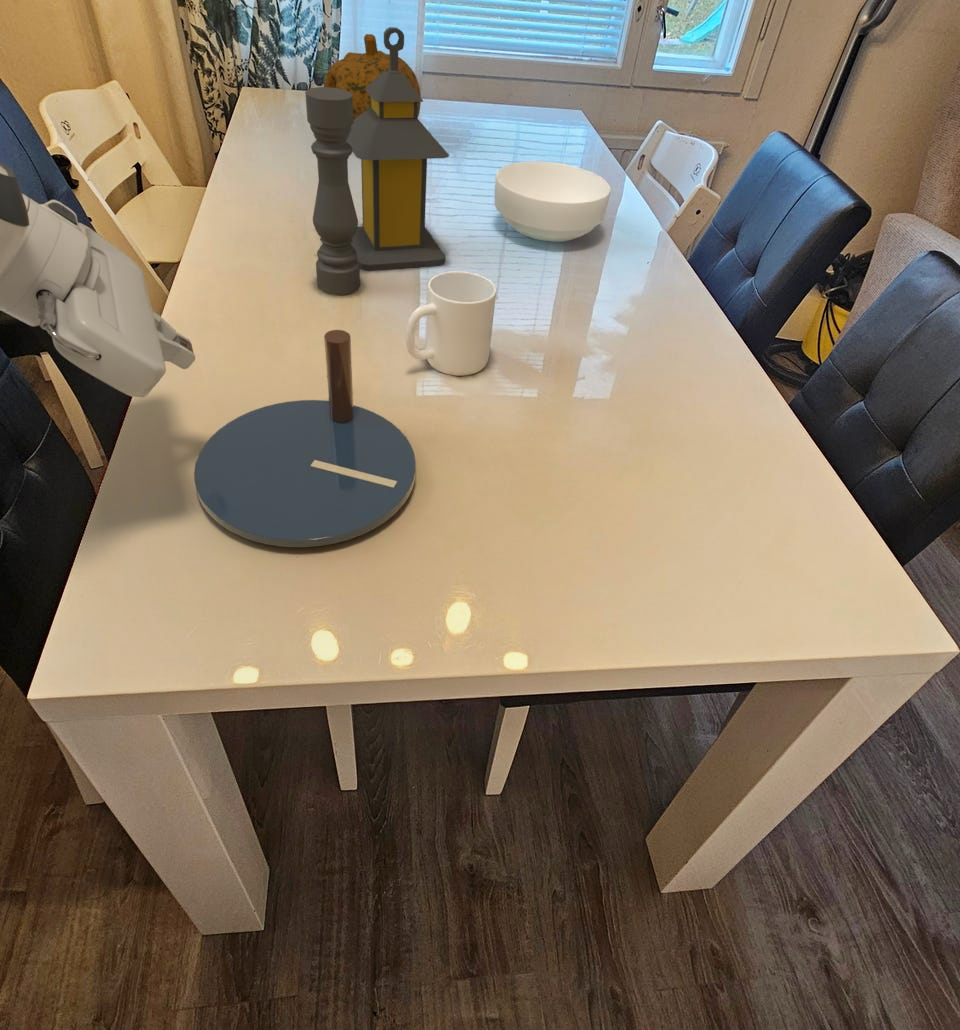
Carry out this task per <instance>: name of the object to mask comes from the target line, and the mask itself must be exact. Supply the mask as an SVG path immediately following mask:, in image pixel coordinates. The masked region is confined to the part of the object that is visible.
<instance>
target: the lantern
mask: <svg viewBox="0 0 960 1030" xmlns="http://www.w3.org/2000/svg"><path fill="white" fill-rule="evenodd" d="M393 34H397V37H398V39H397V42H396V43H395V44H391V40H390V38H391V35H393ZM383 45H384V48H385V49H386V50H389V54H390V69H386V70H384V71H383V72H382V73H381V74H380V75H379V76H378V77H377V78H376V79H375V80H374V81H373V82H371V83H370V84H369V85H368V86H367V87H366V88H365V90H366V91H367V92H368V93H369V95H370V96H371V107H370V108H368V109H367V110H366V111H365V112H363V113H362V114H361V115H360V116H358V117H357V118H356V119H355V120H353V124H352V126H351V132H350V133H349V136H348V139H347V143H349V144H350V145H351V147H352V154H354V156H355V157H356V158H357V159H359V160H360V162H361V163H360V165H361V166H360V167H361V203H362V205H361V206H362V207H361V208H362V209H361V210H362V226H358V227H357V230H356V232H355V234H354V236H353V237H352V240H353V241H352V242H351V245H352V246H353V248H354V249H355V250H356V252H357V255H358V256H357V258H356V260H358V262H359V265H360V270H362V271H365V272H366V271H368V272H371V271H385V270H386V271H387V270H397V269H398V270H399V269H412V268H414V269H415V268H425V267H441V266H443V265H445V263H446V254H445V253H444V251H443V250H442V248H441V247H440V246H439V245H438V243H437V242H436V239H434V237H433V236H432V234H431V233H430V231H429V230H428V229H427V228H426V206H427V205H426V202H427V200H426V199H427V175H428V174H427V172H428V160H430V159H448V158H449V156H450V154H449V153H448V152H447V151H446V150H445V148H444V147H443V146H442V145H441V143H439V142H438V140H437V139H436V138H435V137H434V135H433V134H431V132H430V130H428V129H427V128H426V127H425V125H424V124H423V123H422V122H421V121H420V120H419V117H418V118H417V102H421V103H423V102H424V100H423V98H422V97H420V96H419V95H418V93H417V92H416V91H415V89H414V88H413V87H412V85H411V84H410V83H409V81H408V80H407V79H406V77H405V76H404V75H403V73H402V72H401V71H400V70H398V57H399V52H400V51H402V50H403V49H404V47H405V34H404V32H403V31H402V30H401V29H399V28H398V27H393V26H391V27H390V26H389V27H387V28H386V29H385V30H384V32H383Z"/></svg>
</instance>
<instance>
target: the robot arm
mask: <svg viewBox="0 0 960 1030" xmlns="http://www.w3.org/2000/svg"><path fill="white" fill-rule="evenodd" d="M0 311H1V312H3V313H5V314H7V315H9V316H11V317H13V318H15V319H16V320H19V321H20V322H22V323H24V324H26V325H28V326H29V327H38V326H39V327H40V328H41V329H42V330H44V331H46V332H47V333H48V334H49V335H50V337H51V338H52V343H53V346H54V348H55V349H56V351H57V352H58V353H59V354H60V355H61V356H62V357H63V358H64V359H66V360H67V361H69V362H70V363H71V364H73V365H74V366H76V367H77V368H79V369H81V370H82V371H83V372H85V373H87V374H89V375H90V376H93V377H94V378H95V379H97V380H99V381H101V382H102V383H104V384H106V385H108V386H110V387H111V388H113V389H114V390H117V391H118V392H121V393H123V394H124V395H126V396H128V397H131V398H139V399H141V398H145V397H147V396H148V395H149V394H150V393H151V392H152V390H153V389H154V388H156V386H157V385H158V384H159V382H160V381H161V380H162V379H163V377H164V375H165V374H166V371H167V367H166V363H165V362H168V363H170V364H173V365H175V366H177V367H178V368H180V369H182V370H187V369H189V368H190V367H191V366H192V365H193V363H194V362H195V360H196V354H195V352H194V349H193V343H192V341H191V340H190V339H189V338H187V337H185V335H183V334H181V333H180V332H177V331H176V329H175V328H173V327H172V325H170V323H168V322H167V321H166V320H165V319H164V318H163V317H162V316H161V315H160V314H158V313H156V312H155V311H154V310H153V307H152V303H151V300H150V295H149V291H148V287H147V283H146V279H145V274H144V271H143V269H142V268H141V267H140V266H139V265H138V264H137V263H136V261H134V259H132V258H131V256H129V255H127V253H126V252H124V251H122V250H121V249H120V248H118V247H117V246H116V245H114V244H113V243H111V241H109V240H107V239H106V238H105V237H103V236H102V235H100V234H99V233H97V231H95V230H94V229H92V228H90V227H89V226H87V225H85V224H83V223H81V222H78V216H77V214H76V213H75V212H74V211H73V210H72V209H71V208H69V207H68V206H67V205H65V204H63V203H62V202H60V201H59V200H56V199H50V200H48V201H47V202H45V203H39V202H37V201H35V200H34V199H32V198H30V197H28V196H27V195H26V194H24V193H22V190H21V188H20V185H19V181H18V179H17V177H16V174H15V172H14V171H13V169H11V168H10V167H9V166H8V165H6V164H4V163H3V162H0Z"/></svg>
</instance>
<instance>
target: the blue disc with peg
mask: <svg viewBox="0 0 960 1030" xmlns="http://www.w3.org/2000/svg"><path fill="white" fill-rule="evenodd" d="M323 338H324V348H325V349H324V353H325V366H326V367H325V368H326V376H327V377H326V379H327V393H328V400H324V399H323V400H322V399H321V400H320V399H306V400H305V399H303V400H301V399H300V400H289V401H284V402H279V403H273V404H270V405H265V406H262V407H260V408H256V409H254V410H250V411H249V412H246V413H244V414H242V415H239V416H238V417H236V418H233V419H232V420H231V421H228V422H227V423H226V424H225V425H223V426H222V427H221V428H219V429H218V430H217V431H216V432H215V433H213V435H211V436H210V437H209V438H208V439H207V441H205V444H204V445H203V446H202V448H201V450H200V451H199V453H198V456H197V458H196V461H195V465H194V469H193V470H194V471H193V476H194V477H193V478H194V480H193V481H194V486H195V489H196V493H197V497H198V499H199V501H200V504H201V505H202V507H203V509H204V510H205V511H206V513H207V514H208V515H209V516H210V517H211V518H212V519H213V520H214V521H215V522H216V523H217V524H218V525H220V526H221V527H222V528H225V529H226V530H227V531H229V532H231V533H233V534H235V535H237V536H239V537H241V538H244V539H245V540H250V541H252V542H256V543H259V544H264V545H269V546H274V547H275V546H276V547H283V548H311V547H312V548H313V547H321V546H322V547H323V546H327V545H335V544H338V543H341V542H346V541H350V540H352V539H354V538H357V537H360V536H363V535H365V534H367V533H369V532H371V531H373V530H374V529H377V528H378V527H380V526H382V525H383V524H385V522H388V520H389V519H391V518H392V517H393V516H394V515H396V514H397V513H398V511H400V509H401V508H402V507H403V506H404V504H405V503H406V501H407V500H408V498H409V497H410V495H411V493H412V491H413V488H414V485H415V480H416V472H417V471H416V470H417V469H416V467H417V465H416V464H417V462H416V457H415V452H414V450H413V446H412V444H411V443H410V441H409V439H408V438H407V436H406V435H405V433H403V432H402V431H401V429H399V427H397V426H396V425H395V424H394V423H393V422H391V421H390V420H388V419H387V418H385V417H383V416H382V415H379V414H378V413H376V412H374V411H372V410H369V409H368V408H364V407H360V406H357V405H354V389H353V388H354V386H353V366H352V365H353V362H352V346H351V345H352V340H351V334H350V333H349V332H347V331H346V330H344V329H343V330H342V329H332V330H329V331H327V332H325V334H324V336H323Z"/></svg>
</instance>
